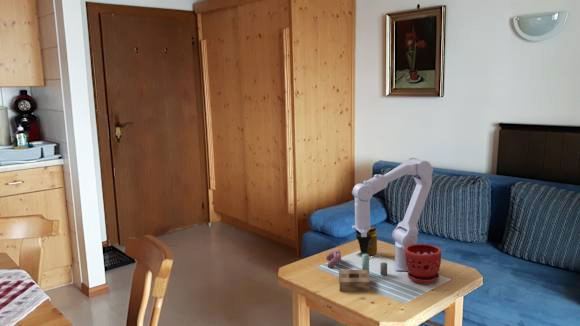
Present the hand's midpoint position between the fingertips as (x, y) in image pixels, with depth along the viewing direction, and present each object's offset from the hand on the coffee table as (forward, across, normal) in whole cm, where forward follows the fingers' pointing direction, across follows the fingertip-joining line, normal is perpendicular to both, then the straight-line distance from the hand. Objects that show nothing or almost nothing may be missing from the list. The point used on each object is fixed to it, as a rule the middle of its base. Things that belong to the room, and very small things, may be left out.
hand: (363, 248), depth 187 cm
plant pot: (+11, +4, +22) cm, 25 cm away
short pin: (+10, +1, +8) cm, 13 cm away
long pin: (+10, +1, +1) cm, 10 cm away
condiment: (+11, -21, +4) cm, 24 cm away
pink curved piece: (+11, -11, -11) cm, 19 cm away
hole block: (+10, +10, -4) cm, 15 cm away
